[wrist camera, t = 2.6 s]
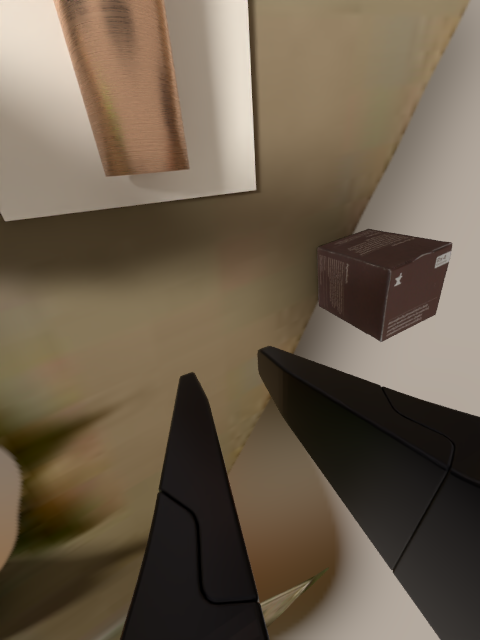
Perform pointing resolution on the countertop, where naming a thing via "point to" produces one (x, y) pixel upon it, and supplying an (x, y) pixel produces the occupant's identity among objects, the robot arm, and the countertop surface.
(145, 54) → the tube
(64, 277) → the countertop surface
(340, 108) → the countertop surface
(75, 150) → the slab
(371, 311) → the box
